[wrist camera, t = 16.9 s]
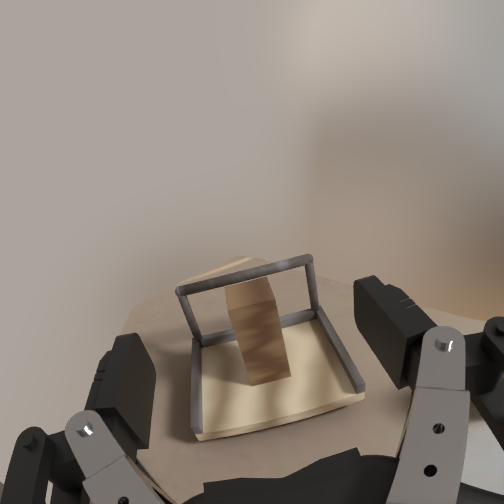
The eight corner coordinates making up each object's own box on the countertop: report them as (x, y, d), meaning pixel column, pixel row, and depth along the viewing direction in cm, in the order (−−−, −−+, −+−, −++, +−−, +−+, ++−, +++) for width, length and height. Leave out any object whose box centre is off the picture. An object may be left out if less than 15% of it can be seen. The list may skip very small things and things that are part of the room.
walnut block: (252, 386, 37) (227, 310, 32) (247, 360, 41) (224, 287, 37) (291, 376, 37) (274, 298, 32) (283, 351, 42) (266, 276, 37)
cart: (204, 448, 33) (157, 373, 27) (202, 360, 48) (172, 286, 43) (363, 408, 33) (366, 320, 28) (323, 329, 49) (312, 250, 43)
